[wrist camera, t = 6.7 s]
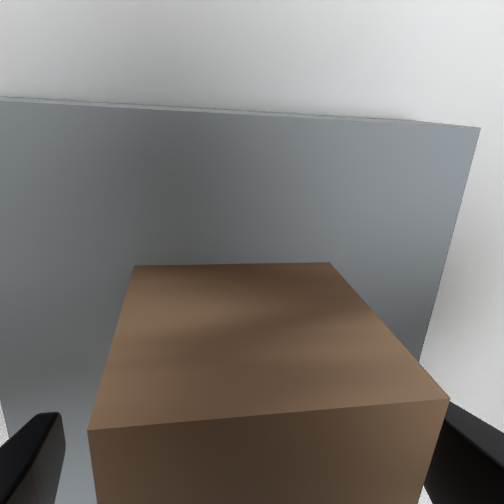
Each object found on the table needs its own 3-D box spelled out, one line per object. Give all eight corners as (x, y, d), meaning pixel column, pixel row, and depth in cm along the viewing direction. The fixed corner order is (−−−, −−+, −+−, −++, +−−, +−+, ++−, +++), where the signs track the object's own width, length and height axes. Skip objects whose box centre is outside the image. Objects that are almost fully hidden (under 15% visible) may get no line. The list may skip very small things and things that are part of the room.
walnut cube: (329, 262, 10) (450, 398, 6) (309, 408, 12) (387, 601, 7) (133, 266, 9) (87, 429, 5) (143, 423, 11) (117, 651, 7)
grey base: (413, 120, 12) (481, 127, 9) (354, 412, 17) (388, 475, 14) (-2, 96, 10) (-71, 96, 7) (57, 438, 14) (27, 518, 12)
